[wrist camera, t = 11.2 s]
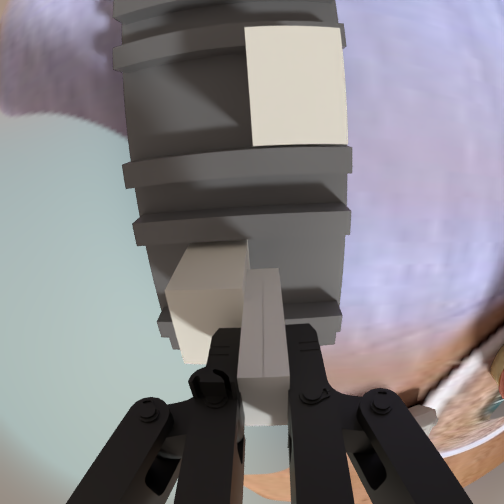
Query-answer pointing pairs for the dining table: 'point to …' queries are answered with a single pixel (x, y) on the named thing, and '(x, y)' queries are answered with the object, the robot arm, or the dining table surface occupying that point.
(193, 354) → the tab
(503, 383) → the cake
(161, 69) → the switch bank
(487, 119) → the dining table surface
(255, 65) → the tab middle
